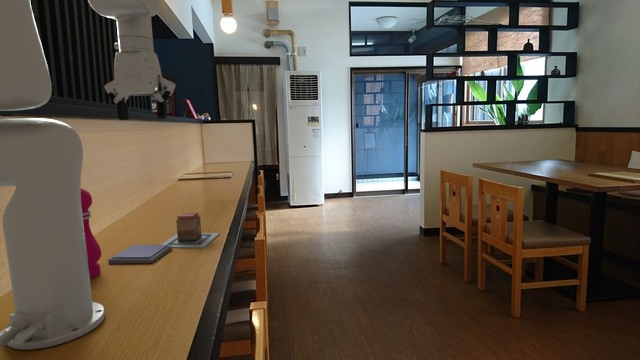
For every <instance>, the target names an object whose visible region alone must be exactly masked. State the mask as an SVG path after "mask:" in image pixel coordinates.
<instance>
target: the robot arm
mask: <svg viewBox="0 0 640 360" xmlns="http://www.w3.org/2000/svg"><path fill="white" fill-rule="evenodd" d="M87 2H88V3H89V5H90V7H91V8H92V9H93V11H95V12H96V13H98V14H99V15H100V16H103V17H106V18H110V19H112V20H113V19H114V20H116V27H117V28H116V29H117V42H115V43H114V44H113V47H114V49H115V50H118V51H117V52H115V57H114V65H113V68H114V69H113V73H114V74H113V76H114V79H113V80H111V81H110V82H108V83H106V84H105V85H104V89H105V91H106V93H107V94H108V97H109V98H110V99H111V100H112V101H113V102H114V103H115V104H116V111H117V116H118V120H120V121H128V120H129V119H130V118H129V109H128V107H129V106H128V104H127V103H126V101H127V100H128V99H129V97H131V96H132V97H139V96H142V97H143V96H153V97H155V99H156V100H157V101H156V103H155V104H156V115H157V119H158V120H166V119H167V115H168V109H167V103H168V102H169V100H170V98H171V97H172V96H173V93H174V92H175V89H176V85H177V84H175V82H173V81H170V80H169V79H168V80H167V79H166V78H164V77H163V75H162V71H161V65H160V62H159V61H160V60H159V58H158V55H157V53H155V52H154V51H155V50H154V37H153V36H154V35H153V27H152V26H153V25H152V17H154V16H156V15H158V13H159V12H160V10H161V7H162V6H161V5H162V0H87ZM32 8H33V7H32V5H31V0H0V112H3V111H4V112H6V111H9V112H10V111H24V110H30V109H31V110H32V109H36V108H40V107H42V106H43V105H45V104H47V103H48V102H49V100H50V99H51V97H52V93H53V92H52V91H53V89H52V81H51V76H50V72H49V67H48V64H47V63H48V62H47V60H46V57H45V53H44V49H43V45H42V42H41V38H40V35H39V31H38V28H37V24H36V21H35V17H34V13H33V9H32ZM164 86H166V90H165V91H164ZM163 91H164V92H163ZM83 148H84V147H83V143H82V140H81V137H80V135H79V134H78V132H77V131H76V130H75V129H74V128H73V127H72V126H70V125H68V124H66V123H64V122H62V121H59V120H55V119H50V118H41V117H40V118H39V117H38V118H37V117H35V118H34V117H32V118H31V117H28V118H27V117H26V118H25V117H24V118H21V117H20V118H1V119H0V187H15V190H14V192H13V193H12V196H11V197H10V199H9V201H8V202H7V203H6V206H5V209H4V210H3V215H2V218H1V219H2V230H3V231H2V232H3V235H4V243H5V251H6V256H7V263H8V269H9V271H8V272H9V277H10V283H11V284H10V285H11V290H12V291H11V292H12V298H13V305H14V312H12V313H10V314H9V321H10V322H9V323H7V324H6V326H5V328H4V329H1V330H0V349H1V348H3V347H5V346H6V345H7V346H8V347H9V348H12V349H15V350H21V351H22V350H38V349H44V348H49V347H53V346H57V345H62V344H64V343H67V342H69V341H73V340H75V339H77V338H80V337H82V336H83V335H85V334H88V333H90V332H91V331H93V330H94V329H96V328H97V327H98V326H99V325H100V324H101V323H102V322H103V321H104V319H105V317H106V309H105V306H103V304H101V303H98V302H95V301H93V297H92V295H93V294H92V288H91V279H90V277H89V268H88V259H87V251H86V242H85V233H84V225H83V217H82V207H81V191H80V188H81V184H82V183H81V182H82V181H81V180H82V179H81V178H82V168H83V159H84V158H83V157H84V150H83Z"/></svg>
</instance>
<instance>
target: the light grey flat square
mask: <svg viewBox="0 0 640 360" xmlns="http://www.w3.org/2000/svg"><path fill="white" fill-rule="evenodd" d="M201 235H202V237H201V238H200V239H199V240H197V241H196V242H178V236H177V233H176V234H175V235H173V236H172V237H170V238H169V239H167V240H166V241H164V242H163V243H161V244H160V245H171V249H184V248H186V249H188V248H189V249H197V248H198V249H201V248H202V249H203V248H206V247H207V246H208V245H209V244H211V242H212V241H213V240H214V239H216V238H217V237H218V236H219V235H220V233H219V232H209V233H208V232H204V233H203V232H201Z"/></svg>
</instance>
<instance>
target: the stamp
mask: <svg viewBox="0 0 640 360" xmlns="http://www.w3.org/2000/svg"><path fill="white" fill-rule="evenodd" d="M199 214H200V213H199V212H198V211H197V212H196V211H195V212H183V213H180V214H179V215H177V219H176V220H175V221H176V234H177V236H178V242H196V241H197V240H199V239H200V238H201V237H202V235H201V233H202V226H201V225H202V223H201V222H202V221H201V215H199Z"/></svg>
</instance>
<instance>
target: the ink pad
mask: <svg viewBox="0 0 640 360" xmlns="http://www.w3.org/2000/svg"><path fill="white" fill-rule="evenodd" d="M169 250H170V251H171V250H172V248H171V245H161V244H132V245H131V246H128V247H127V248H125V249H124V250H122V251H120V252H119V253H117V254H115V255H114V256H112V257H110V258H109V259H107V262H108V264H109V265H110V264H111V265H115V264H116V265H118V264H119V263H120V264H121V263H152V264H154V261H155V260H156V261H157V260H158V258H159V259H160V258H162V257H163V256H164V255H166V254H167V253H168V252H170V251H169ZM166 252H167V253H166ZM165 253H166V254H165ZM162 255H163V256H162ZM156 261H155V262H156ZM120 264H119V265H120Z"/></svg>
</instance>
